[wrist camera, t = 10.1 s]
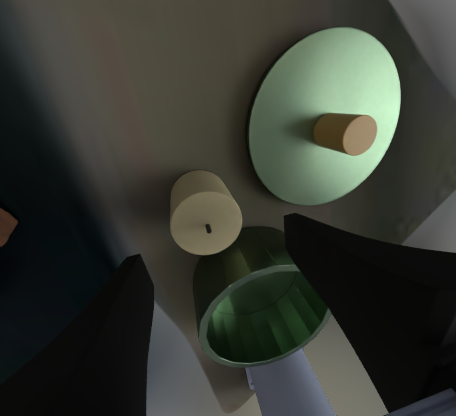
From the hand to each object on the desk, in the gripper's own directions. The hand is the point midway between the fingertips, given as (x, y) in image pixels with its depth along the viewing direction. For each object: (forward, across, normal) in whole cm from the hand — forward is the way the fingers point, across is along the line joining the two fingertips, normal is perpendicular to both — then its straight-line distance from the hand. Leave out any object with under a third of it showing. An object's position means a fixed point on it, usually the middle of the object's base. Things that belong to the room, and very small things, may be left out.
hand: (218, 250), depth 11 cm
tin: (+7, -3, +10) cm, 12 cm away
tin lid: (+7, -10, -3) cm, 13 cm away
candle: (+7, 0, 0) cm, 7 cm away
